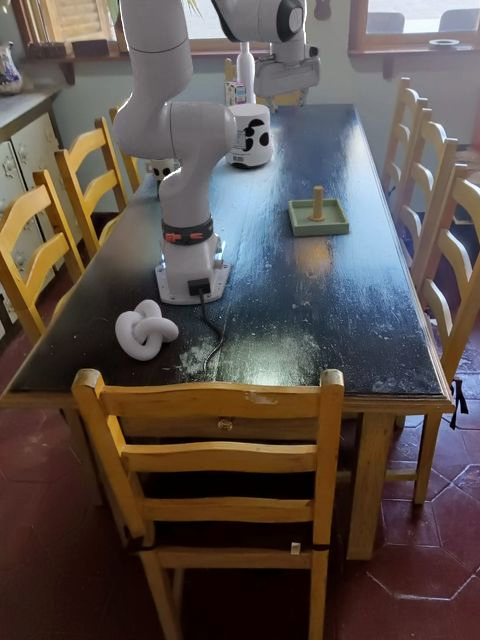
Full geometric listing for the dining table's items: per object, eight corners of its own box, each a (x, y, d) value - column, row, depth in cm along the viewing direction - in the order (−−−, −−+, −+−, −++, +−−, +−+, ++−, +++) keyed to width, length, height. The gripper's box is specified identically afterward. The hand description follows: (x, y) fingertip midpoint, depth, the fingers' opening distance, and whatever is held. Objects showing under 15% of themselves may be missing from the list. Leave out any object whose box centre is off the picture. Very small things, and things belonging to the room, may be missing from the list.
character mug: (148, 202, 163) (140, 160, 155) (153, 193, 169) (146, 152, 161) (182, 202, 163) (177, 160, 155) (186, 192, 168) (181, 152, 160)
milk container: (265, 152, 196) (264, 100, 184) (278, 168, 183) (278, 113, 171) (220, 157, 192) (216, 105, 181) (230, 174, 179) (226, 119, 168)
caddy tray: (348, 233, 144) (351, 198, 137) (294, 236, 143) (294, 201, 137) (338, 207, 157) (340, 174, 150) (288, 210, 156) (288, 177, 150)
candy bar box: (248, 128, 219) (246, 85, 209) (237, 130, 217) (234, 87, 207) (237, 121, 227) (235, 79, 217) (227, 123, 225) (224, 81, 215)
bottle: (249, 105, 247) (246, 31, 228) (259, 108, 242) (257, 33, 223) (235, 108, 243) (231, 33, 224) (245, 111, 238) (242, 36, 219)
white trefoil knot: (185, 330, 111) (180, 294, 106) (175, 367, 102) (168, 330, 97) (133, 329, 112) (125, 294, 107) (118, 366, 103) (108, 329, 97)
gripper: (262, 59, 125) (264, 120, 134) (325, 47, 134) (323, 104, 143) (247, 55, 129) (249, 114, 138) (309, 43, 138) (307, 100, 147)
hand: (287, 109), depth 141 cm, fingers open, 8 cm apart
